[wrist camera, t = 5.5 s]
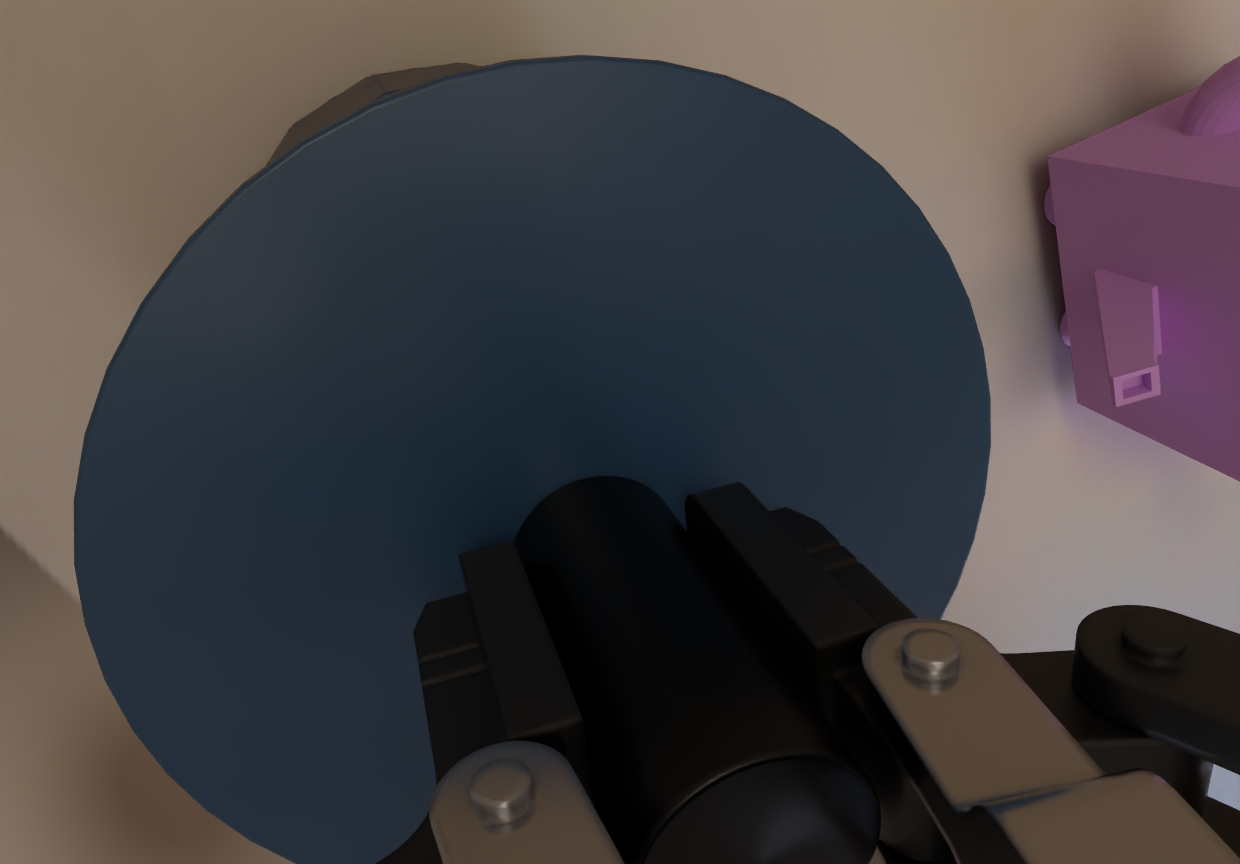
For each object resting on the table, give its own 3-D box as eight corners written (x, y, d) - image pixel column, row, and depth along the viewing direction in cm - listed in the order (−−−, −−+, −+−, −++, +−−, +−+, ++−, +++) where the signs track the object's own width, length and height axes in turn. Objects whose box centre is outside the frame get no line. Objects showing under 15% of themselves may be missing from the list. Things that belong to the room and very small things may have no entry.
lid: (256, 945, 15) (217, 1511, 9) (-91, 144, 10) (-704, 302, 4) (939, 718, 18) (1237, 1046, 12) (964, -9, 12) (1528, -49, 7)
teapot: (908, 54, 28) (1171, 61, 19) (1268, -102, 29) (1664, -161, 21) (994, 521, 36) (1205, 673, 27) (1271, 381, 37) (1554, 484, 29)
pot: (302, 512, 28) (294, 686, 20) (176, 102, 23) (103, 133, 15) (670, 424, 30) (783, 551, 23) (628, 37, 25) (755, 36, 18)
